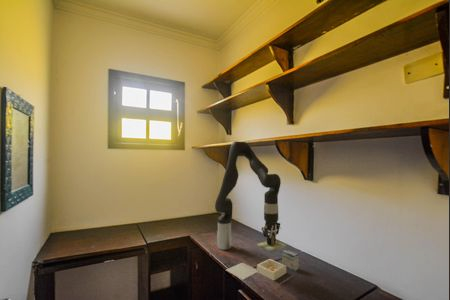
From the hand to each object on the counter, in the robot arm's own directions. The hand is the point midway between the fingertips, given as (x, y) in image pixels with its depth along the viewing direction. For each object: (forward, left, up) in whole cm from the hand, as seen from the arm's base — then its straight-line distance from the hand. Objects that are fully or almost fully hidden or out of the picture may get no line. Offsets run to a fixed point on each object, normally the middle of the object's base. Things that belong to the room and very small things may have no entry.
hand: (271, 243), depth 124 cm
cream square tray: (0, 0, -16) cm, 16 cm away
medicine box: (+3, +13, -16) cm, 21 cm away
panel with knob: (-12, -10, -16) cm, 22 cm away
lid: (0, 0, -1) cm, 1 cm away
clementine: (0, 0, -14) cm, 14 cm away
